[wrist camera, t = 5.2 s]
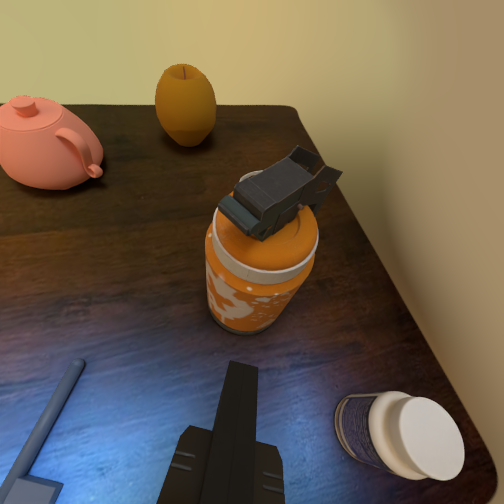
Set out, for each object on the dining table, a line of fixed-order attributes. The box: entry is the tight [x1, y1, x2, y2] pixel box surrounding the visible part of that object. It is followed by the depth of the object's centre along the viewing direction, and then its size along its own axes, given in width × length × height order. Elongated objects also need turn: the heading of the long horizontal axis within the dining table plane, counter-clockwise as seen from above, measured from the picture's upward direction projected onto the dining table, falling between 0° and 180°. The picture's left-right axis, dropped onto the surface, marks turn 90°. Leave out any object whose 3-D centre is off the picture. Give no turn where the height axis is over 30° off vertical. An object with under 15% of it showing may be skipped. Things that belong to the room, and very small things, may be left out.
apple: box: [155, 64, 216, 147], centre depth 40 cm, size 10×10×12 cm
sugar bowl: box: [0, 96, 103, 190], centre depth 34 cm, size 12×14×10 cm
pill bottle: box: [335, 391, 464, 480], centre depth 21 cm, size 6×6×10 cm
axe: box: [0, 359, 84, 504], centre depth 21 cm, size 13×4×1 cm, turn 168°
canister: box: [205, 145, 342, 335], centre depth 23 cm, size 9×11×20 cm
